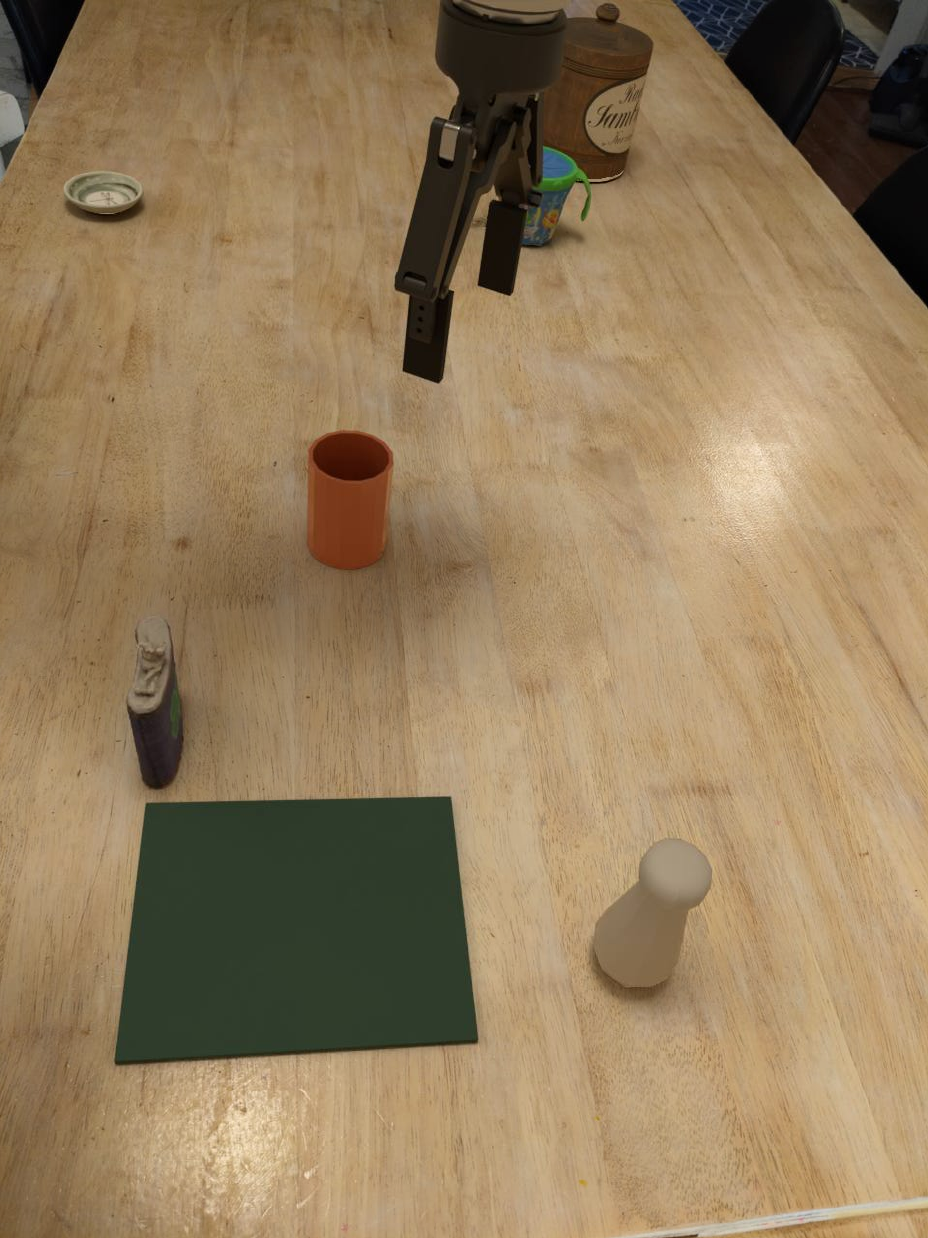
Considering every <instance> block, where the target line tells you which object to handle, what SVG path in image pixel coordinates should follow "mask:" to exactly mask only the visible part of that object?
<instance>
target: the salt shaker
mask: <svg viewBox="0 0 928 1238" xmlns="http://www.w3.org/2000/svg"><path fill="white" fill-rule="evenodd" d="M637 875H638V876H637V877H638V878H637V879H638V880H637V881H636V882H635V883H634V884H633V885H632V886H630V888H628V890H627V891H625V892H624V893H623V894H622V895H621V896H619V898H617V899H616V900H615V901H614V902H613V903H612V904H611V905H610V906H608V907H607V908H606V909H605V911H603V913H601V915H600V917H599V918H598V920H596V922H595V924H594V933H593V944H592V945H593V948H594V951H595V954H596V957H597V961H598V963H599V966H600V968H601V970H602V972H603V973H605V974H606V975H607V976H608V977H610V978H611V979H613V980H614V981H615V982H616V983H618V984H619V985H621V986H622V987H623V988H624V989H628V988H652V987H654V986H655V985H658V984H659V983H662V982H664V981H665V980H667V979H668V978H670V976H671V975H672V973H673V971H674V970H675V968H676V967H677V965H678V964H679V961H680V955H681V952H682V951H681V950H682V945H683V940H684V936H685V931H686V925H687V920H688V916H689V911H690V910H692V909H694V908H697V907H700V905H701V904H702V902H703V901H704V900H705V898H706V896H707V895H708V893H709V891H710V890H711V887H712V883H713V882H712V881H713V868H712V866H711V863H710V862H709V860H708V857H707V855H706V854H704V853H703V851H701V849H699V847H697V846H696V845H695V844H694V843H692V842H689V841H687V840H685V839H682V838H675V837H673V838H672V837H664V838H662V839H660V840H658V841H656V842H653V843H652V844H651V845H650V846H649V847H648V848H647V850H646V851H645V852H644V854H643V855H642V856H641V858H640V861H639V864H638V874H637Z"/></svg>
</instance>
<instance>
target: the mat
mask: <svg viewBox="0 0 928 1238" xmlns="http://www.w3.org/2000/svg"><path fill="white" fill-rule="evenodd" d="M144 805H145V806H144V815H143V822H142V831H141V838H140V847H139V855H138V863H137V869H136V870H137V871H136V880H135V886H134V895H133V905H132V913H131V920H130V929H129V938H128V946H127V953H126V962H125V971H124V979H123V985H122V994H121V1002H120V1004H121V1005H120V1011H119V1018H118V1019H119V1020H118V1028H117V1035H116V1036H117V1037H116V1043H115V1052H114V1060H113V1061H114V1064H115V1065H124V1064H127V1065H128V1064H141V1063H142V1064H143V1063H159V1062H172V1061H174V1062H175V1061H177V1062H178V1061H189V1060H190V1061H191V1060H192V1061H193V1060H206V1059H208V1060H209V1059H223V1058H240V1057H255V1056H257V1057H258V1056H274V1055H289V1054H290V1055H291V1054H307V1053H308V1054H309V1053H322V1052H325V1053H326V1052H339V1051H340V1052H341V1051H355V1050H357V1051H358V1050H370V1049H371V1050H373V1049H388V1048H389V1049H390V1048H406V1047H407V1048H408V1047H423V1046H438V1045H456V1044H457V1045H458V1044H471V1043H478V1041H479V1034H478V1025H477V1015H476V1007H475V998H474V990H473V989H474V988H473V980H472V979H473V978H472V971H471V962H470V961H471V960H470V952H469V944H468V934H467V927H466V925H467V924H466V917H465V907H464V900H463V890H462V881H461V873H460V865H459V864H460V863H459V856H458V855H459V854H458V847H457V837H456V828H455V819H454V811H453V802H452V796H450V795H449V796H448V795H447V796H411V797H410V796H400V797H358V798H357V797H355V798H353V797H352V798H312V799H311V798H309V799H308V798H307V799H306V798H304V799H303V798H302V799H266V800H265V799H260V800H257V799H256V800H217V801H216V800H214V801H209V800H207V801H167V802H166V801H164V802H163V801H161V802H145V804H144Z"/></svg>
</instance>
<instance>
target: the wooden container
mask: <svg viewBox="0 0 928 1238" xmlns="http://www.w3.org/2000/svg"><path fill="white" fill-rule="evenodd" d="M595 16H596V17H589V16H573V17H567V18H568V20H569V27H568V32H567V38H566V43H565V49H564V54H563V60H562V66H561V71H560V76H559V78H558V80H557V82H556V83H555V84H554V85H553V86H552V87H551V88H549V89H547V90H545V94H544V129H543V146H544V147H548V148H551V149H554V150H557V151H560V152H562V153H564V154H566V155H567V156H569V157H570V158H571V159H572V160H574V162H575V163H576V165H577V167H578V168H579V169H580V170H582V171H583V172H584V174H585V175H586V176H587V178H588V179H602V178H606V177H613V176H615V175H618V174H620V173H621V172H622V171H623V170H624V171H625V169H626V166H627V161H628V156H629V153H630V148H631V145H632V141H633V136H634V133H635V130H636V126H637V121H638V116H639V112H640V107H641V102H642V98H643V93H644V88H645V86H646V85H645V84H646V80H647V75H648V71H649V67H650V64H651V59H652V55H653V52H654V51H653V50H654V41H653V40H652V38H651V37H650V36H649V35H648V34H647V33H645V32H643V31H642V30H640V29H637V28H635V27H632V26H630V25H628V24H624V23H622V22H619V21H618V20H619V18H620V16H621V11H620V9H619V7H617V5H615V4H613V3H609V2H604V3H603V4H600V5H599V6H598V7H597V8H596V9H595ZM624 168H625V169H624Z"/></svg>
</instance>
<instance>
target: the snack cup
mask: <svg viewBox="0 0 928 1238" xmlns="http://www.w3.org/2000/svg"><path fill="white" fill-rule="evenodd" d="M529 167H530V165H529ZM577 180H581V181H583V182H582V183H583V185H584V187H585V191H586V194H587V196H586V199H585V202H584V205H583V209H582V210H581V213H580V214H581V215H580V220H581V222H584V221H585V220H586V218H587V216H588V214H589V211H590V209H591V203H592V190H591V188H592V187H591V184H590V182H589V181H588V178H587V176H586V175H585V174H584V172H583V171H582V170H580V169H579V168H578V167H577V165H576V163H575V162H574V160H572V159H571V158H570V157H569V156H567V155H566V154H564V153H562V152H560V151H557V150H554V149H551V148H548V147H544V146H543V180H542V182H541V184H540V185H539V187H538V188H536V187H533V190H536V191H539V192H542V193H543V196H542V201H541V204H540V206H539V208H538V209H536V208H533V207H529V206H526V205H524V208H523V209H526V210H528V211H527V217H526V223H525V228H524V234H523V240H522V245H523V246H531V245H532V246H536V247H541V246H542V245H543V244H545V243H547V242H549V241H550V240H551V239H552V238H553V236H554V233H555V231H556V229H557V225H558V222H559V220H560V218H561V215H562V213H563V210H564V209H563V208H564V206H565V203H566V201H567V198H568V196H569V194H570V192H571V190H572V188H573V186H574V185H575V183H576V182H578V181H577ZM497 201H501V198H500V197H498V199H497Z"/></svg>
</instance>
